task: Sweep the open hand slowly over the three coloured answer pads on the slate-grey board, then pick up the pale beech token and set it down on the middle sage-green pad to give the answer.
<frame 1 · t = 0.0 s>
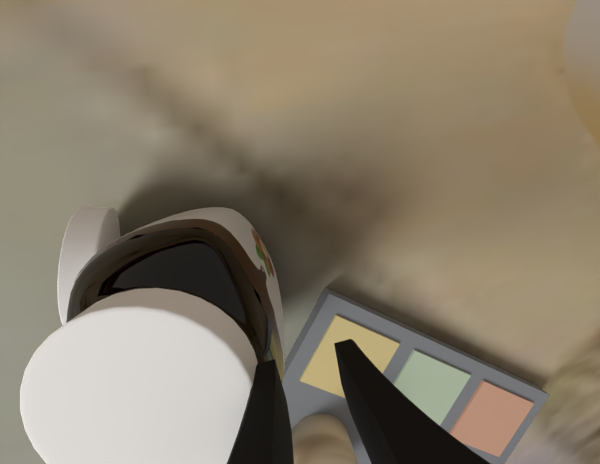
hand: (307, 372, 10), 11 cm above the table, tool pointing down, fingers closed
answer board: (398, 410, 24), on the table
spread jar: (191, 270, 20), on the table, touching gripper
beech token: (317, 440, 22), point 1 cm above the table, touching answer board
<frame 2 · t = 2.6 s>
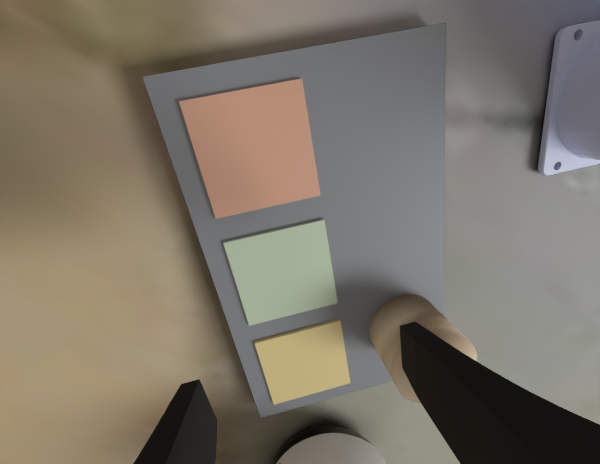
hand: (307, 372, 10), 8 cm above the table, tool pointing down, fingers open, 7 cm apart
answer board: (328, 253, 18), on the table
spread jar: (324, 462, 26), on the table
beech token: (402, 324, 20), point 1 cm above the table, touching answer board
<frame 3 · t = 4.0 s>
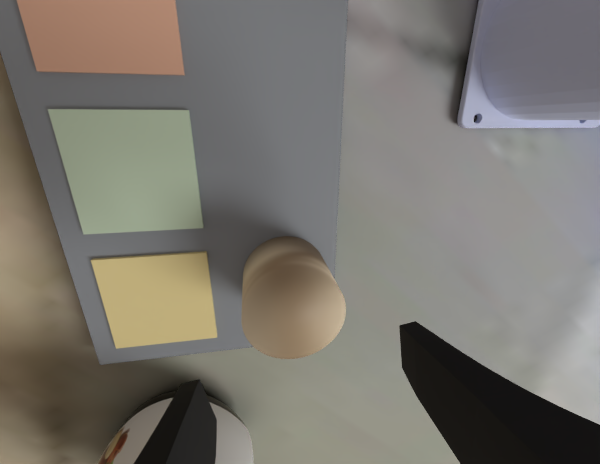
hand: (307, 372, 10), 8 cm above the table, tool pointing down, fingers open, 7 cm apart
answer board: (204, 168, 15), on the table
spread jar: (191, 440, 22), on the table
beech token: (284, 274, 17), point 1 cm above the table, touching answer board
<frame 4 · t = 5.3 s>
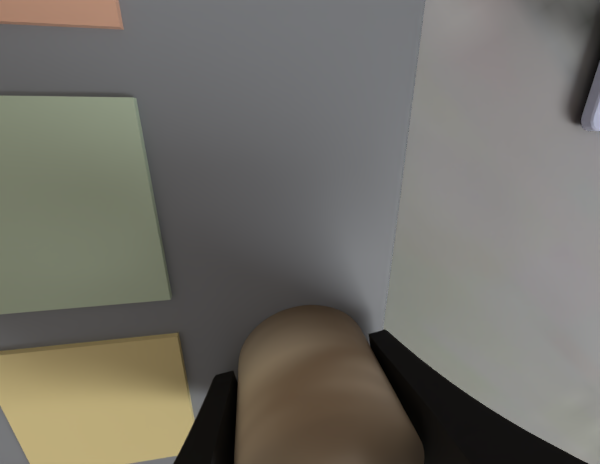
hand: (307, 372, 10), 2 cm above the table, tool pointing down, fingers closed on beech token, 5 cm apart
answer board: (174, 198, 9), on the table
beech token: (304, 359, 11), point 1 cm above the table, touching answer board, gripper
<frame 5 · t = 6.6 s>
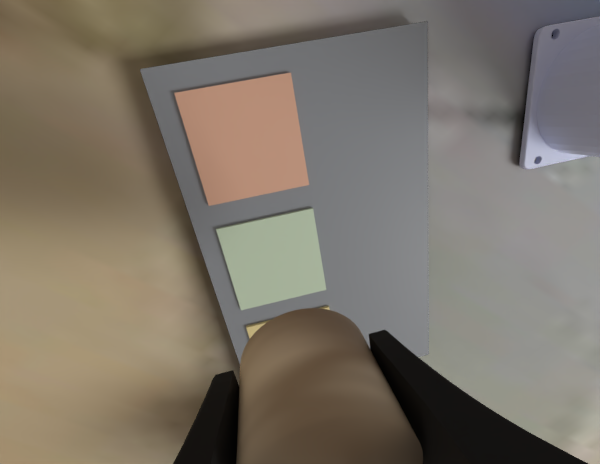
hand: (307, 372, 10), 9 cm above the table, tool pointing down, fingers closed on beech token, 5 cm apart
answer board: (318, 242, 19), on the table
beech token: (305, 361, 11), point 9 cm above the table, touching gripper
when the fingers open (3 cm above the table, at t = 8.4 s): beech token stays where it is, resting on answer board.
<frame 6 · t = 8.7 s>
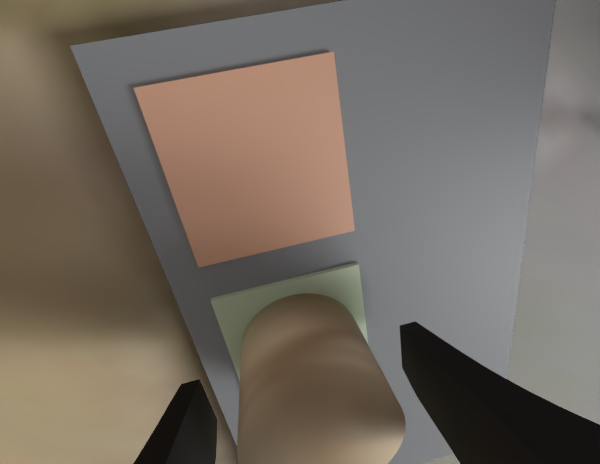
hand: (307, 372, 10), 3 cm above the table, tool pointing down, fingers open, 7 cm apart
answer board: (358, 302, 13), on the table
beech token: (301, 344, 12), point 1 cm above the table, touching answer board
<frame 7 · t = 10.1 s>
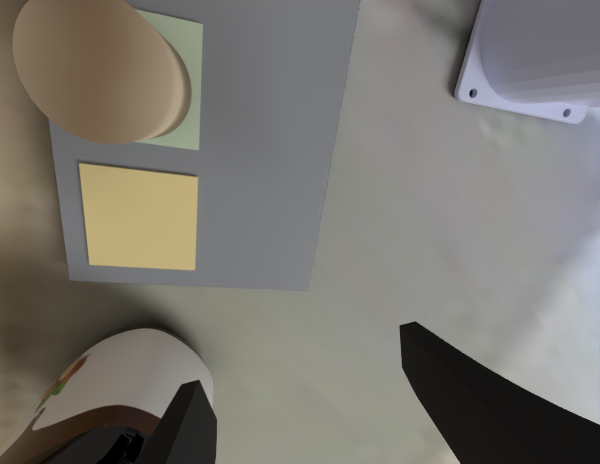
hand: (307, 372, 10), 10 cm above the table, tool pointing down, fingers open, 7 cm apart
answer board: (208, 94, 15), on the table
spread jar: (151, 385, 22), on the table
beech token: (137, 84, 14), point 1 cm above the table, touching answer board
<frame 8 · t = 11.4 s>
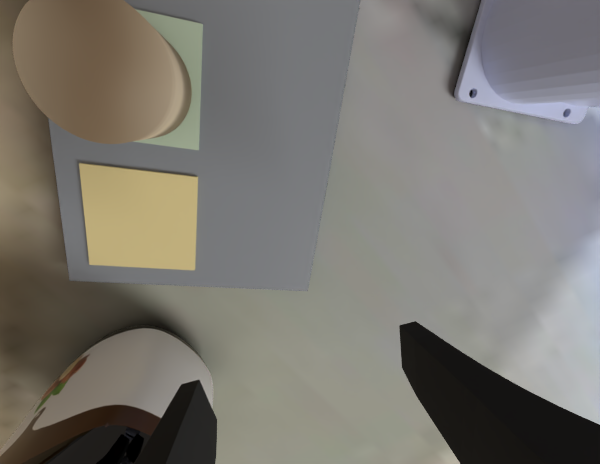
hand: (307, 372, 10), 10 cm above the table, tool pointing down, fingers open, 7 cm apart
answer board: (208, 94, 15), on the table
spread jar: (151, 385, 22), on the table
beech token: (137, 84, 14), point 1 cm above the table, touching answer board
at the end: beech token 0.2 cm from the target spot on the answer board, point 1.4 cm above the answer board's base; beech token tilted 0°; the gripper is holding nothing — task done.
